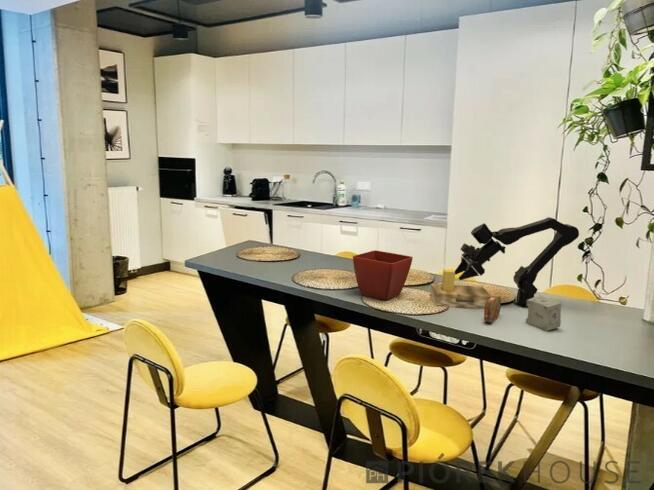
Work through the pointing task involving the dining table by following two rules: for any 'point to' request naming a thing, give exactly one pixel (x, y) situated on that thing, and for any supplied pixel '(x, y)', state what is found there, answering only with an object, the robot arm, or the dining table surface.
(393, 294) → the plant pot
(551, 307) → the grey concrete block
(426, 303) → the dining table surface
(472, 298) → the tan flat piece
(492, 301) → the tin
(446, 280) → the yellow block
